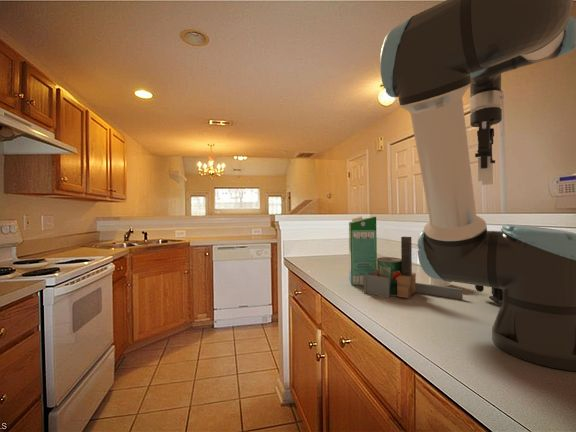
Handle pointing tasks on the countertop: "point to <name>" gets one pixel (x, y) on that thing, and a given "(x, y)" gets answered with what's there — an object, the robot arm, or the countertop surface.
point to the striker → (406, 270)
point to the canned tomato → (390, 271)
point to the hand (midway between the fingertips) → (485, 182)
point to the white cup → (438, 282)
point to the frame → (382, 287)
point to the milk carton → (362, 248)
